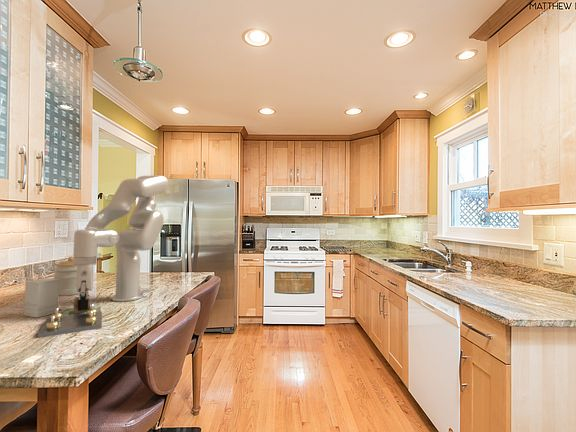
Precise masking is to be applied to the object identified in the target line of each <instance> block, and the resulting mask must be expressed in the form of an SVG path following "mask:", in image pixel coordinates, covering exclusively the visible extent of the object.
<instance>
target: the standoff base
mask: <svg viewBox="0 0 576 432" xmlns="http://www.w3.org/2000/svg"><path fill="white" fill-rule="evenodd" d="M90 306H91V309H89V310H87V313H86V314H78V315H70V316H62V313H63V312H59V307H58V308H56V310H55V313H53V314H51V316H50V317H47V318H46V319H45V321H44V322H43V324H42V325H41V328H40V329H39V331H38V333H37V338H45V337H50V336H52V337H53V336H58V335H64V334H69V333H77V332H84V331H91V330H96V329H102V327H103V326H102V324H103V323H102V321H103V319H102V318H103V314H102V313H103V312H102V311H101V312H97V309H93V306H95V305H94V303H90Z"/></svg>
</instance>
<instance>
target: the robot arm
mask: <svg viewBox="0 0 576 432" xmlns="http://www.w3.org/2000/svg"><path fill="white" fill-rule="evenodd" d="M169 186H170V183H169V179H168V178H167V177H166V176H164V175H160V174H159V175H158V174H155V175H154V174H153V175H142V176H139V177H137V178H127V179H124V180H122V181H121V182H120V184H119V185H118V188H116V191H115V193H114V195H113V197H111V200H110V201H109V203H108V204H107V206H105V207H104V208H102V209H101V210H100V211H99V212H97V213H96V214H95V215H94V216H92V218H91V219H90V220H89V222H88V223H87V225H86V227H85V228H84V229H78V230H75V231H74V235H73V255H72V257H73V266H77V275H76V284H77V292H79V294H78V297H79V300H78V311H80V310H87V309H88V296H90V295H89V291H90V292H92V291H93V289H94V286H93V285H94V266H96V265H97V264H98V263H97V258H98V248H99V247H100V248H111V247H115V249H116V251H115V252H116V273H115V275H116V276H115V281H116V282H115V294H114V295H112V296H111V300H112V301H114V302H130V301H136V300H140V299H142V298H143V297H144V293H145V294H149V293H151V288H149V287H148V288H147V287H144V288H142V287H141V285H140V281H141V280H140V278H141V277H140V276H141V256H140V252H139V251H141V252H142V251H144V252H145V251H149V250H152V248H153V247H154V246H155V244H156V242H157V240H158V237H159V235H160V233H161V230H162V229H163V225H164V223H165V222H164V221H165V220H164V216H163V215H164V214H163V213H162V212H160V211H159V210H156V209H157V200H156V198H155V196H156V195H159V194H163V193H165V192H166V191H167V190H168V189H169ZM136 200H138V201H137V202H136ZM135 202H136V205H135V207H134V209H133V210H132V212H131V214H130V211H131V209H132V208H133V206H134V203H135ZM128 214H130V216H129V218H128V225H129V227H130V228H127V229H123V230H120V231H118V232H117V231H116V230H114V229H111V228H106V227H107V226H108V225H109V224H111V223H112V222H114V221H116V220H118V219H122V218H123V217H125V216H127V215H128Z"/></svg>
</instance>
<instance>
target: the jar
mask: <svg viewBox="0 0 576 432" xmlns="http://www.w3.org/2000/svg"><path fill="white" fill-rule="evenodd" d="M53 271H54V275H53V279H59V295H58V296H72V295H77V294H78V295H79V292H77V284H76V275H77V266H73V255H72V256H68V259H67V260H61V261H59V262H58V263H56V267H55V268H54V269H53Z"/></svg>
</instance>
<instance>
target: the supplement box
mask: <svg viewBox="0 0 576 432" xmlns="http://www.w3.org/2000/svg"><path fill="white" fill-rule="evenodd" d="M24 285H25V288H24V289H25V290H24V307H23V308H24V312H23V313H24V314H23V315H24V317H31V318H41V317H44V316H49V315H52V314H55V310H56V308H59V296H60V295H59V279H54V278H47V277H46V278H38V279H34V280H28V281H25V284H24Z"/></svg>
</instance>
